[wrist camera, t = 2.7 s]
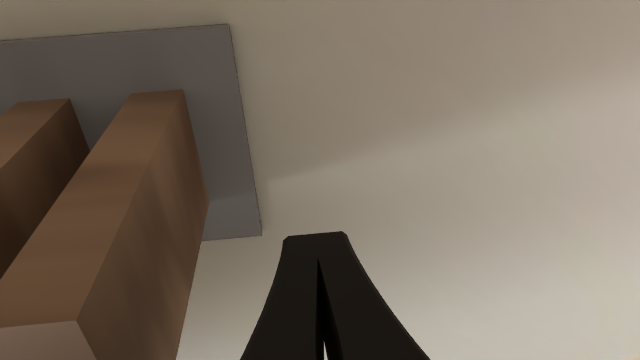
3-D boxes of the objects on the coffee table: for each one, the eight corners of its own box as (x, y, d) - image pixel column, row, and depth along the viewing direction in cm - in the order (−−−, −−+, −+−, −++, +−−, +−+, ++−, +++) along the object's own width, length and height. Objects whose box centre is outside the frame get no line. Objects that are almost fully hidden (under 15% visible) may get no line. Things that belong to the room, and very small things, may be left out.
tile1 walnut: (209, 202, 17) (153, 465, 9) (165, 206, 16) (71, 474, 9) (183, 89, 14) (75, 320, 7) (131, 93, 14) (-37, 331, 7)
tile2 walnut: (112, 210, 16) (-27, 485, 9) (68, 214, 16) (-110, 494, 9) (69, 98, 14) (-172, 344, 6) (17, 102, 14) (-289, 356, 6)
